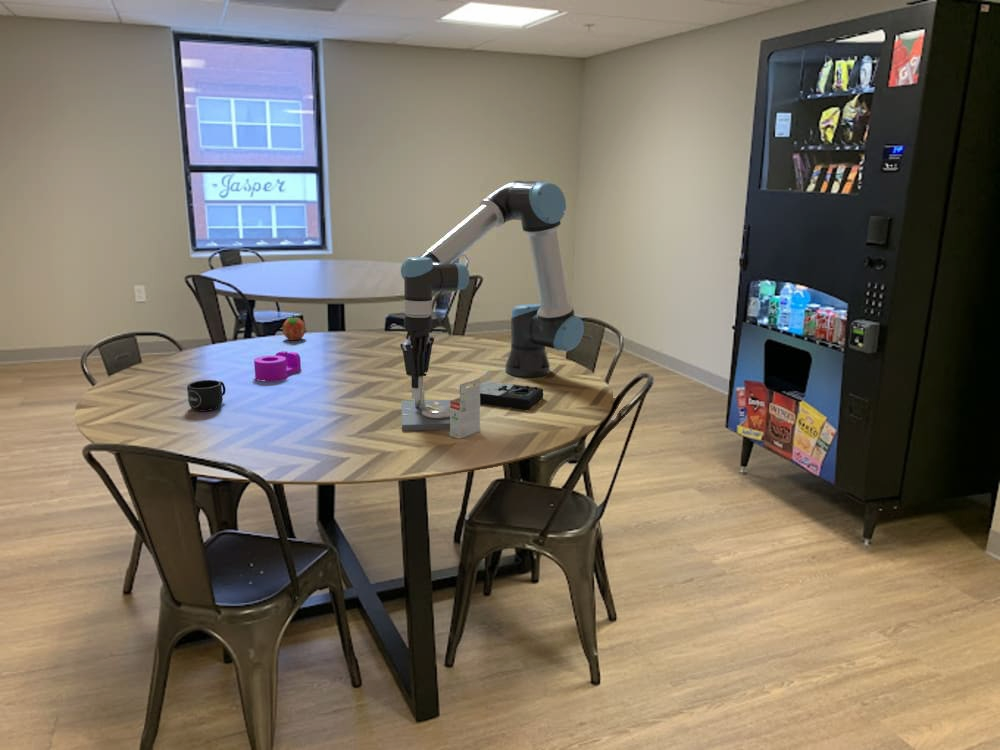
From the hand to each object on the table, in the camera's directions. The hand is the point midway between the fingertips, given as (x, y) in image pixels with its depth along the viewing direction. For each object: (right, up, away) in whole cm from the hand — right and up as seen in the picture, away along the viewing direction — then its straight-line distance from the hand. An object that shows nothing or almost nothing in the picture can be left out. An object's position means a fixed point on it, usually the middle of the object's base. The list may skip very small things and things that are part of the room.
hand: (416, 398), depth 210 cm
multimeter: (+25, -2, +16) cm, 29 cm away
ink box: (+14, -9, -13) cm, 21 cm away
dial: (+4, -4, -1) cm, 6 cm away
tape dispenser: (-50, +6, +38) cm, 64 cm away
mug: (-59, -3, +5) cm, 60 cm away
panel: (+6, -5, 0) cm, 8 cm away
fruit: (-58, +20, +88) cm, 107 cm away
